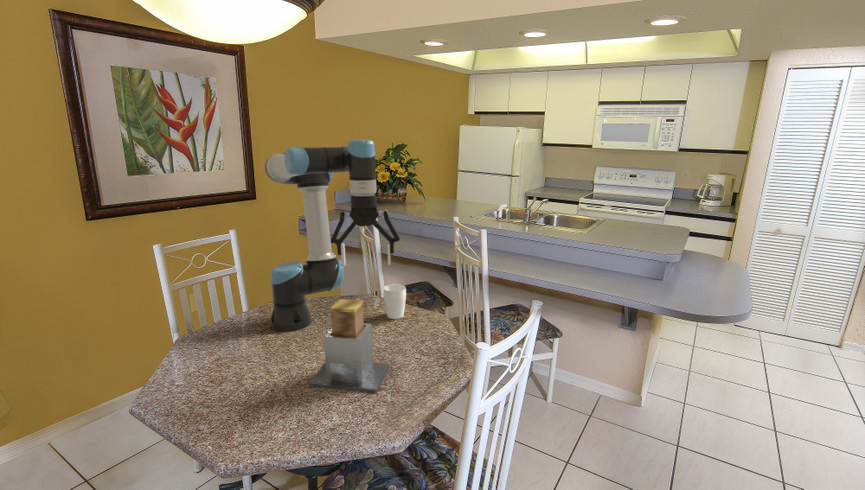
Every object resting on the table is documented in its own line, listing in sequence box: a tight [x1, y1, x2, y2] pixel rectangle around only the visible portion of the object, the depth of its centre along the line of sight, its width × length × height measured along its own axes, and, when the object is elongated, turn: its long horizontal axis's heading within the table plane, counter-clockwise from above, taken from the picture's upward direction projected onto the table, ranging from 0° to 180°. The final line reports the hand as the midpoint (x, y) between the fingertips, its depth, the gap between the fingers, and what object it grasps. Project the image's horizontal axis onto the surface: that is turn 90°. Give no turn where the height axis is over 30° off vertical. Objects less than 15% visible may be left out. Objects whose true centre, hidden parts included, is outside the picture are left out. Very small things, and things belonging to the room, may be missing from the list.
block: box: [330, 298, 365, 337], centre depth 124 cm, size 7×7×14 cm
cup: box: [382, 283, 407, 320], centre depth 170 cm, size 9×9×12 cm
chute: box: [308, 322, 390, 394], centre depth 126 cm, size 20×14×15 cm
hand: (366, 264), depth 129 cm, fingers open, 13 cm apart
